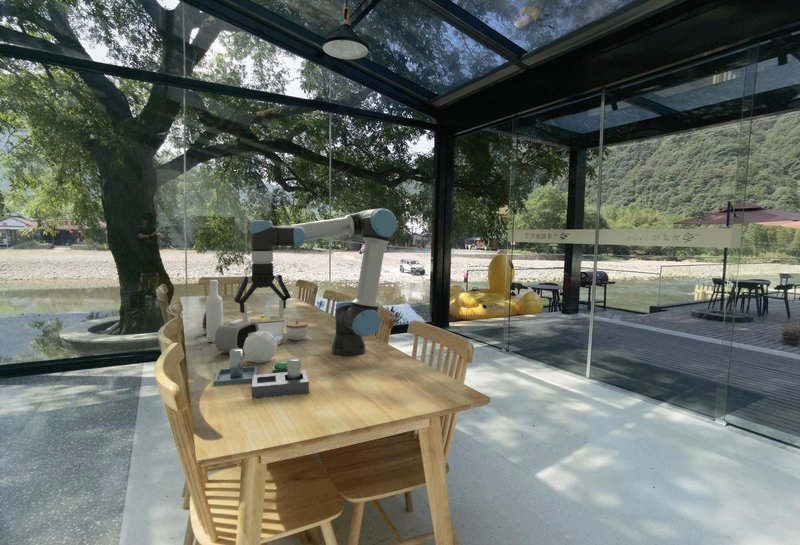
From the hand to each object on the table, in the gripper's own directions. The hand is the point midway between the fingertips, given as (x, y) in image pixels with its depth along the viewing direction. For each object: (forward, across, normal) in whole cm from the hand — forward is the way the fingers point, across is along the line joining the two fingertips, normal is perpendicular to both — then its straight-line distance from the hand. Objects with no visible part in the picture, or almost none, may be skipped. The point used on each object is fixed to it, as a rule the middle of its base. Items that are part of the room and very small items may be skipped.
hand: (263, 319), depth 157 cm
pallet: (+21, 0, +19) cm, 28 cm away
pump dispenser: (+21, +2, -80) cm, 83 cm away
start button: (+19, -4, +7) cm, 20 cm away
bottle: (+21, +5, -63) cm, 66 cm away
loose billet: (+20, +10, 0) cm, 23 cm away
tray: (+21, +10, 0) cm, 23 cm away
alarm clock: (+21, 0, -40) cm, 45 cm away
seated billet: (+21, -4, +20) cm, 29 cm away
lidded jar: (+22, -30, -45) cm, 58 cm away
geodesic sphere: (+21, -3, -16) cm, 27 cm away
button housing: (+21, -4, +7) cm, 23 cm away
